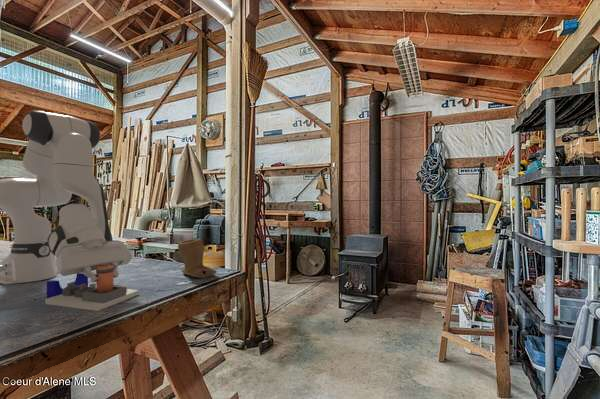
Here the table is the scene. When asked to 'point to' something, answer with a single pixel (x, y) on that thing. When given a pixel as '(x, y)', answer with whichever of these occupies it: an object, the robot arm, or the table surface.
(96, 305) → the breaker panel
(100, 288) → the lockout cap
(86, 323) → the table surface
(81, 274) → the blue u-shaped piece
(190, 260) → the brown boot
